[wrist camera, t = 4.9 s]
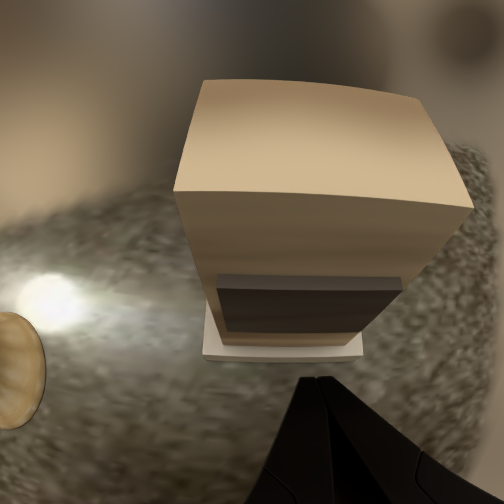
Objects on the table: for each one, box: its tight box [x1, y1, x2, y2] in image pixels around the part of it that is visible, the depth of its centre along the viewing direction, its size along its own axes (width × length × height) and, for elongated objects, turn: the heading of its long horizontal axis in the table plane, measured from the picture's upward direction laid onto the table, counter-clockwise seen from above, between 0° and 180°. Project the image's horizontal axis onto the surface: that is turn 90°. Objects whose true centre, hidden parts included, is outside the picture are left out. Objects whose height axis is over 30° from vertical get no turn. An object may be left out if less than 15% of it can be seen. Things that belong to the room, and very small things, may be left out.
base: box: [202, 301, 363, 363], centre depth 16 cm, size 10×8×6 cm
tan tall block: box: [173, 79, 474, 347], centre depth 11 cm, size 4×6×11 cm
